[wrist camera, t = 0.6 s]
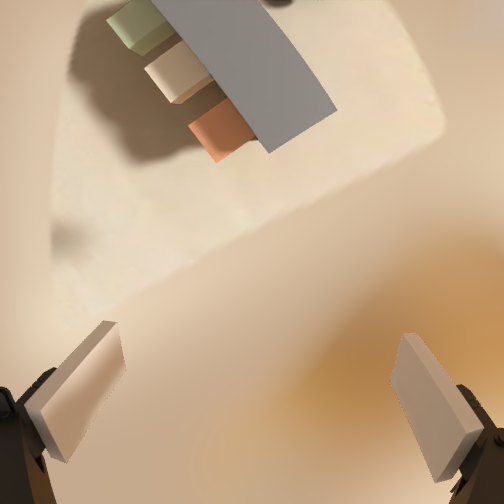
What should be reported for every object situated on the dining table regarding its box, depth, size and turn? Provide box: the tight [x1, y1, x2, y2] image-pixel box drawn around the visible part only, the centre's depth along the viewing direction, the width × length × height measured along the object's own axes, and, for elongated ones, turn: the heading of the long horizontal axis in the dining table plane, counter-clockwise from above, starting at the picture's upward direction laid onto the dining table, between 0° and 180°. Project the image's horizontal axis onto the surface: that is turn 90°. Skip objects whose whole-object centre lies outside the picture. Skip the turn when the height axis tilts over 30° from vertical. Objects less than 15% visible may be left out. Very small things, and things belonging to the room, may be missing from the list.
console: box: [150, 0, 337, 153], centre depth 25 cm, size 20×6×14 cm, turn 35°
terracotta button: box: [188, 97, 256, 163], centre depth 27 cm, size 4×5×4 cm
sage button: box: [106, 0, 176, 56], centre depth 22 cm, size 4×5×4 cm
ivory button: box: [144, 40, 214, 104], centre depth 25 cm, size 4×5×4 cm
